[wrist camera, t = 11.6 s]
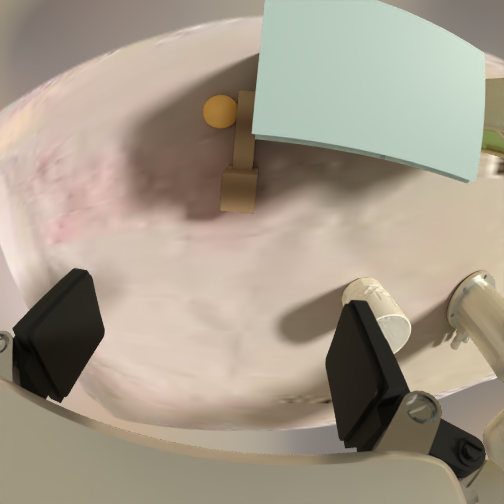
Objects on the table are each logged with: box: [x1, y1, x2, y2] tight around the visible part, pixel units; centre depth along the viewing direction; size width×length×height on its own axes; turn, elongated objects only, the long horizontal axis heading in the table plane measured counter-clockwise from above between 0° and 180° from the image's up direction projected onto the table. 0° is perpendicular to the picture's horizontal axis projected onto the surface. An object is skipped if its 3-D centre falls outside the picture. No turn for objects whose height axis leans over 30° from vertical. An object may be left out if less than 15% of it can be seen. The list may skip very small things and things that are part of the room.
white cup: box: [341, 277, 411, 354], centre depth 35 cm, size 8×8×10 cm
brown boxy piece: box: [220, 90, 258, 214], centre depth 29 cm, size 13×4×6 cm, turn 175°
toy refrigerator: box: [481, 78, 504, 158], centre depth 18 cm, size 8×7×21 cm
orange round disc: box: [203, 95, 238, 128], centre depth 29 cm, size 4×4×2 cm
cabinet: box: [252, 0, 485, 184], centre depth 20 cm, size 11×16×18 cm
